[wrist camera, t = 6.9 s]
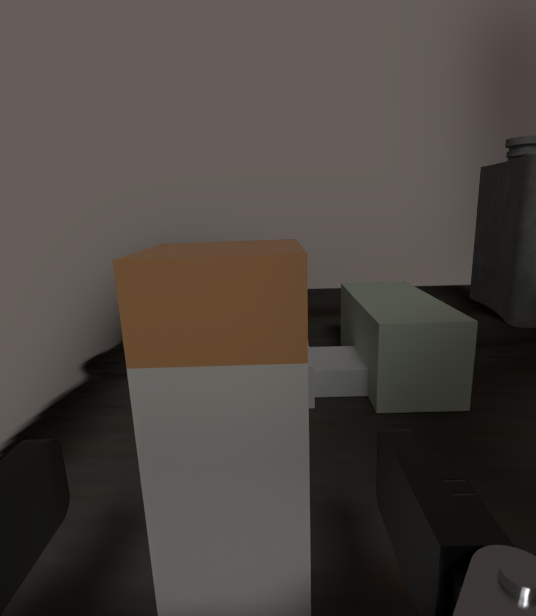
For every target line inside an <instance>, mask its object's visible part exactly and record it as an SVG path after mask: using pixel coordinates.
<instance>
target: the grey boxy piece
mask: <svg viewBox="0 0 536 616" xmlns="http://www.w3.org/2000/svg"><path fill="white" fill-rule="evenodd" d="M477 325H478V321H476V320H474V319H473V318H471V317H469V316H467V315H465V314H463V313H462V312H460V311H458V310H456V309H454V308H452V307H451V306H449V305H447V304H445V303H443V302H441V301H440V300H438V299H436V298H434V297H432V296H431V295H429V294H427V293H425V292H423V291H421V290H420V289H418V288H416V287H414V286H412V285H410V284H409V283H406V282H405V281H403V282H373V283H342V284H341V345H342V346H335V347H309V345H308V397H309V408H315V397H347V396H368V398H369V400H370V402H371V404H372V406H373V408H374V410H375V412H376V413H405V412H442V411H470V401H471V390H472V380H473V369H474V358H475V347H476V336H477Z"/></svg>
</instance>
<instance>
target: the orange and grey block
mask: <svg viewBox="0 0 536 616" xmlns="http://www.w3.org/2000/svg"><path fill="white" fill-rule="evenodd" d="M113 264H114V272H115V280H116V287H117V296H118V303H119V311H120V319H121V327H122V335H123V343H124V351H125V359H126V367H127V375H128V383H129V391H130V399H131V406H132V414H133V422H134V430H135V438H136V446H137V454H138V462H139V470H140V478H141V486H142V494H143V501H144V509H145V517H146V525H147V533H148V541H149V549H150V557H151V565H152V573H153V581H154V589H155V597H156V604H157V612H158V616H311V564H310V481H309V397H308V314H307V253H306V252H305V251H304V249H303V248H302V247H301V246H300V244H299V243H298V242H297V240H295V239H289V240H261V241H233V242H232V241H230V242H204V243H202V242H201V243H174V244H173V243H172V244H161V245H158V246H156V247H152V248H149V249H146V250H143V251H140V252H137V253H134V254H130V255H127V256H124V257H121V258H118V259H115V260H113Z"/></svg>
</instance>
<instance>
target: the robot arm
mask: <svg viewBox="0 0 536 616" xmlns="http://www.w3.org/2000/svg"><path fill="white" fill-rule="evenodd" d="M376 490H377V499H378V505H379V509H380V513H381V516H382V518H383V521H384V524H385V527H386V529H387V532H388V535H389V538H390V541H391V543H392V546H393V549H394V552H395V554H396V557H397V560H398V563H399V566H400V568H401V571H402V574H403V577H404V579H405V582H406V585H407V588H408V591H409V593H410V596H411V599H412V602H413V604H414V607H415V610H416V613H417V616H536V556H534V555H533V554H530V553H528V552H526V551H524V550H521V549H518V548H515V547H514V545H513V544H512V543H511V541H510V540H509V538H508V537H507V536H506V534H505V533H504V531H503V530H502V529H501V527H500V526H499V524H498V523H497V522H496V520H495V519H494V517H493V516H492V515H491V513H490V512H489V510H488V509H487V508H486V506H485V505H484V504H483V502H482V501H481V499H480V498H479V497H478V496H476V494H475V491H474V490H473V488H472V487H471V485H470V484H469V483H468V482H466V478H465V477H464V476H463V474H462V473H461V472H460V470H459V469H458V467H457V466H456V465H455V463H454V462H452V461H451V460H450V459H448V458H447V457H445V456H444V455H443V454H441V453H440V452H438V451H437V450H424V448H423V447H422V445H421V444H420V442H419V440H418V439H417V437H416V436H415V434H414V433H413V431H412V430H410V429H401V430H380V431H379V433H378V445H377V477H376ZM69 499H70V493H69V487H68V481H67V476H66V470H65V465H64V459H63V454H62V449H61V445H60V443H59V442H58V441H57V440H56V439H44V440H24V441H21V442H20V443H19V444H18V445H17V446H16V447H15V448H13V449H12V450H11V451H10V452H9V453H8V454H7V455H6V456H5V457H4V458H3V459H2V460H1V461H0V615H1V614H2V612H3V611H4V609H5V608H6V606H7V605H8V603H9V602H10V600H11V599H12V597H13V596H14V594H15V593H16V591H17V590H18V588H19V587H20V585H21V584H22V582H23V581H24V579H25V578H26V576H27V575H28V573H29V572H30V570H31V569H32V567H33V566H34V564H35V562H36V561H37V559H38V558H39V556H40V555H41V553H42V552H43V550H44V549H45V547H46V546H47V544H48V543H49V541H50V540H51V538H52V537H53V535H54V534H55V532H56V531H57V529H58V528H59V526H60V525H61V523H62V522H63V520H64V518H65V516H66V513H67V510H68V506H69Z"/></svg>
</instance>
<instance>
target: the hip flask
mask: <svg viewBox="0 0 536 616" xmlns="http://www.w3.org/2000/svg"><path fill="white" fill-rule="evenodd" d="M505 147H506V148H509V152H507V156H506V157H507V158H508V161H507V162H503V163H498V164H494V165H489V166H484V167H481V174H480V184H479V196H478V207H477V219H476V231H475V242H474V254H473V265H472V277H471V288H470V299H472V300H475V301H477V302H479V303H481V304H483V305H485V306H487V307H489V308H490V309H492V310H493V311H495V312H496V313H498V314H499V315H500V316H501V317H502V318H503V319H504V321H505V322H506V323H507V324H508V325H511V326H514V327H520V328H536V136H524V137H517V138H512V139H508V140H506V146H505Z"/></svg>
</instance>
